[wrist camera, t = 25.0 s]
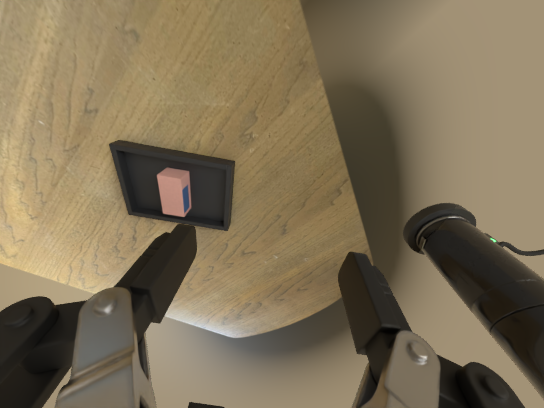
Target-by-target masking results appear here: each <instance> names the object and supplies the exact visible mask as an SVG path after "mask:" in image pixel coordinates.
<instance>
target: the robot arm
mask: <svg viewBox="0 0 544 408" xmlns="http://www.w3.org/2000/svg"><path fill="white" fill-rule="evenodd" d="M415 243H416V245H417V246H418V247H419V249H421V250H422V251H423V252H424V254H425V255H426V256H427V257H428V259H429V260H430V261H431V263H433V265H434V266H435V267H436V269H437V270H438V271H439V272H440V274H441V275H442V276H443V277H444V278H445V279H446V281H447V282H448V283H449V285H450V286H451V287H452V288H453V290H454V291H455V292H456V293H457V294H458V296H459V297H460V298H461V299H462V301H463V302H464V303H465V304H466V305H467V307H468V308H469V309H470V310H471V312H472V313H473V314H474V315H475V316H476V318H477V319H478V320H479V321H480V322H481V324H482V325H483V326H484V327H485V329H486V330H487V331H488V332H489V333H490V335H491V336H492V337H493V338H494V339H495V341H496V342H497V343H498V344H499V345H500V347H501V348H502V349H503V350H504V351H505V352H506V354H507V355H508V356H509V357H510V359H511V360H512V361H513V362H514V363H515V365H516V366H517V367H518V368H519V370H520V371H521V372H522V373H523V374H524V376H525V377H526V378H527V379H528V381H529V382H530V383H531V384H532V385H533V386H534V388H535V389H536V390H537V392H538V393H539V394H540V396H541V397H542V398H543V400H544V279H543V278H542V277H540V276H539V275H538V274H536V273H535V272H534V271H532V270H531V269H530V268H528V267H527V266H526V265H525V264H523V263H522V262H521V261H519V260H518V259H517V258H515V257H514V256H513V255H511V254H510V253H509V252H508V251H506V250H505V249H504V248H503V246H506V247H507V248H509V249H510V250H512V251H513V252H515V253H517V254H520V255H525V256H535V255H542V254H544V250H538V251H528V252H527V251H521V250H518V249H517V248H515V247H514V246H512V245H511V244H509V243H507V242H497V241H496V240H495V239H494V238H492V237H491V236H490V235H488V234H486V233H482V232H481V231H480V230H479V229H477V228H476V227H475V226H473V225H472V224H471V223H470V222H469V221H468V220H467V219H465V218H464V217H462V216H459V215H453V214H450V215H443V216H439V217H436V218H434V219H432V220H430V221H428V222H426V223H425V224H424V225H423V226H422V227H421V228H420V229H419V230H418V231H417V233H416V235H415ZM196 252H197V242H196V229H195V227H194V226H190V225H184V224H178V225H177V226H176V227H175V228H174V230H173V231H172V232H171V233H167V232H165V233H164V234H162V235H161V236H159V237H157V238H156V239H155V240H154V241H153V242H152V243H151V244H150V246H149V247H148V249H146V250H145V251H144V253H143V254H142V256H140V257H139V258H138V260H137V261H136V262H135V263H134V264H133V265H132V267H131V268H130V269H129V270H128V271H127V273H126V274H125V275H124V276H123V277H122V278H121V280H120V281H119V282H118V283H117V284H116V285H115V286H114V287H113V288H108V289H105V290H102V291H100V292H98V293H97V294H95V295H93V296H92V297H91V298H90V299H88V300H86V301H80V302H73V303H67V304H60V305H54V303H52V301H51V300H50V299H49V298H47V297H40V296H38V297H32V298H27V299H24V300H21V301H19V302H17V303H14V304H12V305H10V306H9V307H7V308H5V309H4V310H2V311H1V312H0V408H42V407H43V406H44V404H45V403H46V401H47V400H48V399H49V397H50V396H51V394H52V393H53V392H54V390H55V389H56V387H57V386H58V385H59V383H60V382H61V380H62V379H63V377H64V376H65V375H66V373H67V372H68V370H69V369H70V368H71V366H72V369H71V376H70V380H69V382H68V384H66V385H64V386H63V387H62V388H61V390H60V392H59V394H58V396H57V400H56V404H55V408H156V401H155V396H154V392H153V388H152V382H151V375H150V367H149V358H148V350H147V342H146V333H145V332H146V330H147V328H148V326H149V325H150V323H151V322H153V323H160V322H161V321H162V319H163V317H164V315H165V313H166V311H167V310H168V308H169V306H170V304H171V302H172V300H173V298H174V296H175V294H176V293H177V291H178V289H179V287H180V285H181V283H182V281H183V279H184V278H185V276H186V274H187V272H188V270H189V268H190V266H191V264H192V263H193V261H194V259H195V256H196ZM338 282H339V287H340V290H341V294H342V298H343V301H344V306H345V309H346V314H347V317H348V321H349V325H350V329H351V333H352V336H353V340H354V344H355V348H356V352H357V354H362V355H367V357H368V360H369V363H368V364H367V366H366V368H365V371H364V374H363V377H362V380H361V383H360V385H359V388H358V392H357V394H356V397H355V400H354V403H353V406H352V408H525V407H524V406H523V404H522V403H521V401H520V400H519V399H518V397H517V396H516V394H515V393H514V391H513V390H512V389H511V388H510V386H509V385H508V384H507V383H506V382H505V381H504V380H503V379H502V378H501V377H500V376H499V375H498V374H496V373H495V372H494V371H492V370H491V369H489V368H488V367H486V366H484V365H482V364H480V363H476V362H470V363H468V364H467V365H465V366H463V367H462V366H460V365H458V364H456V363H454V362H451V361H449V360H447V359H445V358H443V357H441V356H439V355H437V354H436V353H435V352H434V350H433V349H432V348H431V346H430V345H429V344H428V343H427V342H426V341H425V340H424V339H423V338H421V337H420V336H418V335H417V334H415V333H413V332H412V330H411V329H410V327H409V325H408V323H407V321H406V319H405V317H404V315H403V313H402V311H401V309H400V307H399V305H398V303H397V301H396V299H395V297H394V296H393V293H392V291H391V289H390V287H388V283H387V281H386V279H385V278H384V275H383V274H382V273H381V272H380V271H379V270H378V269H377V268H376V267H375V266H372V265H371V263H370V261H369V259H368V257H367V255H366V254H362V253H355V252H349V253H348V255H347V256H346V258H345V260H344V262H343V264H342V266H341V268H340V270H339V274H338ZM188 408H224V407H221V406H214V405H207V404H200V403H193V402H189V406H188Z"/></svg>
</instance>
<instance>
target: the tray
mask: <svg viewBox="0 0 544 408" xmlns="http://www.w3.org/2000/svg"><path fill="white" fill-rule="evenodd" d="M109 146H110V150H111V153H112V157H113V160H114V164H115V167H116V171H117V175H118V178H119V182H120V185H121V189H122V193H123V196H124V200H125V203H126V207H127V211H128V214H129V215H134V216H140V217H146V218H152V219H158V220H164V221H170V222H176V223H182V224H188V225H194V226H200V227H206V228H212V229H218V230H224V231H228V229H229V226H230V223H231V209H232V195H233V181H234V167H235V161H231V160H226V159H220V158H215V157H209V156H204V155H198V154H193V153H187V152H182V151H176V150H171V149H165V148H160V147H154V146H149V145H143V144H138V143H133V142H127V141H122V140H118V141H115V142H112V143H110V144H109ZM167 167H168V168H173V169H179V170H185V171H189V177H190V192H191V209H190V210H189V211H188V213H187V214H186V215H185V217H181V216H175V215H169V214H163V210H162V204H161V198H160V192H159V185H158V179H157V174H159V173H160V172H162V171H163V170H164V169H166V168H167Z"/></svg>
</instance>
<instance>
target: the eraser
mask: <svg viewBox="0 0 544 408" xmlns="http://www.w3.org/2000/svg"><path fill="white" fill-rule="evenodd" d="M157 179H158V185H159V192H160V198H161V204H162V210H163V214H169V215H175V216H181V217H185V215H186V214H187V213H188V211H189V210H190V209H191V192H190V177H189V171H185V170H179V169H173V168H168V167H167V168H166V169H164V170H163V171H162V172H160V173H159V174H157Z"/></svg>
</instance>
